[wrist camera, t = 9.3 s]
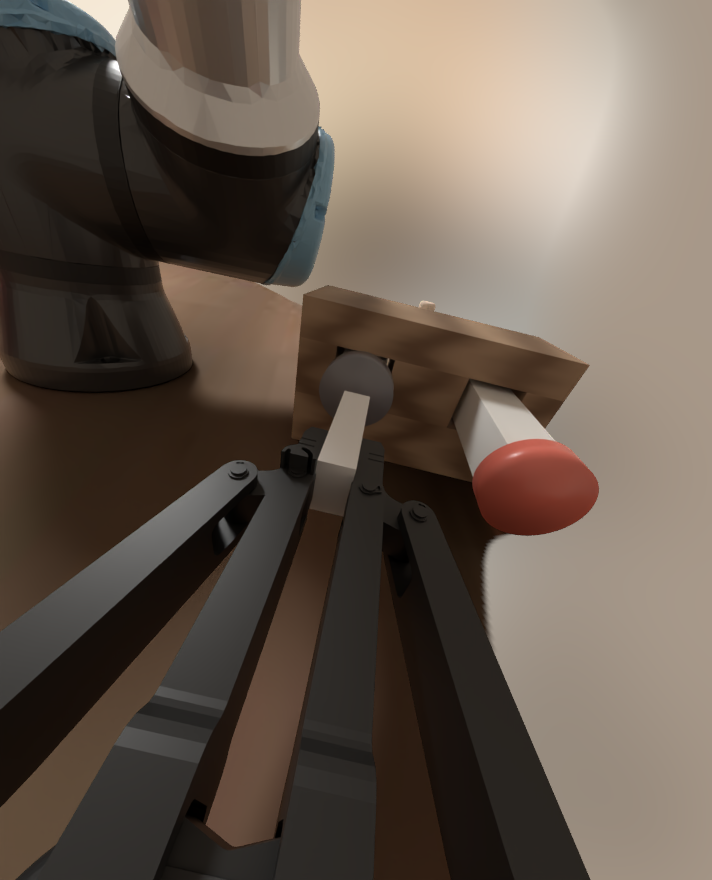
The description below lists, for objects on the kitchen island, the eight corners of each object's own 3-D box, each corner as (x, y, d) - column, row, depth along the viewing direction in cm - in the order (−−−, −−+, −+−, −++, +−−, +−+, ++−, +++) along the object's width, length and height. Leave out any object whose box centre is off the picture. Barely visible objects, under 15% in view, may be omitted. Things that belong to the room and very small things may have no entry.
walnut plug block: (291, 438, 25) (303, 294, 19) (313, 401, 32) (328, 285, 25) (501, 489, 25) (589, 365, 19) (480, 441, 32) (539, 337, 25)
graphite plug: (315, 417, 21) (324, 348, 18) (342, 364, 31) (351, 315, 28) (382, 434, 21) (403, 368, 18) (387, 375, 31) (400, 327, 28)
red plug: (462, 522, 15) (512, 446, 12) (435, 413, 25) (458, 359, 22) (555, 544, 15) (626, 474, 12) (490, 427, 25) (520, 374, 22)
